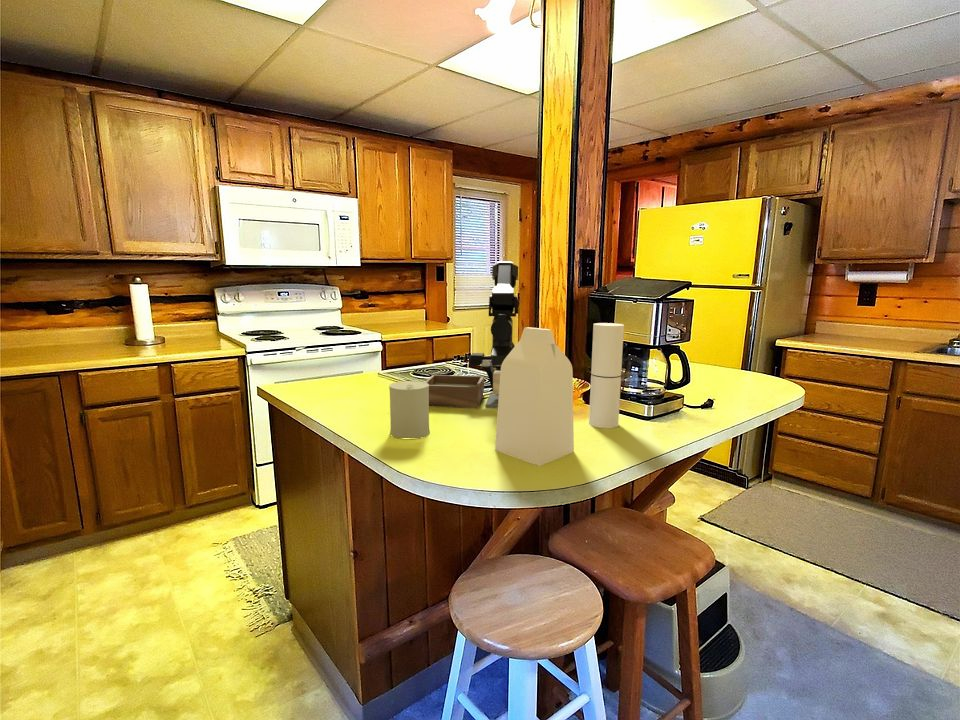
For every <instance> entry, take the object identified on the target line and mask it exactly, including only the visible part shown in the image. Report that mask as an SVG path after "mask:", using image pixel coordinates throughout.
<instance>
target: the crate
mask: <svg viewBox="0 0 960 720" xmlns="http://www.w3.org/2000/svg"><path fill="white" fill-rule="evenodd" d="M424 382H425V383H428V384H429V407H434V408H435V407H436V408H460V409H462V408H463V409H465V408H466V409H479V406H480V405H481V402H482V400H483V398H484V396H483V392H484V393H485V376H484V375H483V376H481V375H479V376H478V375H477V376H476V375H450V374H449V375H447V374H431V376H430V377H428V379H426V380H425V381H424ZM482 397H483V398H482Z"/></svg>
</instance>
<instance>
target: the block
mask: <svg viewBox="0 0 960 720" xmlns="http://www.w3.org/2000/svg"><path fill="white" fill-rule="evenodd" d="M499 385H500V371H495V370H493V389H492V394H493V395H499Z"/></svg>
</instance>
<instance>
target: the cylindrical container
mask: <svg viewBox="0 0 960 720" xmlns="http://www.w3.org/2000/svg"><path fill="white" fill-rule="evenodd" d="M624 328H625V325H624V324H623V323H615V322H614V323H613V322H609V323H608V322H597V323H593V329H592V347H591V348H592V349H591V350H592V351H591V373H590V374H591V375H590V395H589V412H588V413H589V414H588V416H589V417H588V423H589V424H588V425H590V426H592V427H595V428H600V429H614V428H617V427H618V426H619V422H620V421H619V418H620V417H619V416H620V402H621V401H620V399H621V383H622V368H623V367H622V364H623V350H624V349H623V347H624V333H625V331H624V330H625V329H624Z"/></svg>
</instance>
